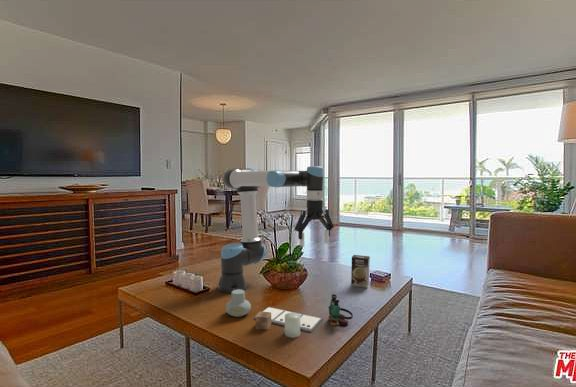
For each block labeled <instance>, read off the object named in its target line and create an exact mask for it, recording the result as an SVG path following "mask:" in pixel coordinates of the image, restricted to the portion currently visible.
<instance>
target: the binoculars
mask: <svg viewBox="0 0 576 387" xmlns="http://www.w3.org/2000/svg"><path fill="white" fill-rule="evenodd" d="M339 302H340V300H339V299H337V294H333V293H332V294H331V299H330V302H329V306H328V315H329V316H328V317H327V318H328V319H327V320H328V321H330V326H333V327H334V326H336V325H344V326H348V325H349V321H348V320H352V319H353V317H354V316H353V313H352V311H350V310H348V309H346V308H343V307H341V306H340V304H339ZM341 311H343V312H346V313H347V314H349V315H350V316H345V315H344V314H341Z"/></svg>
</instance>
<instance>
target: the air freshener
mask: <svg viewBox="0 0 576 387" xmlns="http://www.w3.org/2000/svg"><path fill="white" fill-rule="evenodd" d="M230 294H231V295H230V296H231V298H230V299H231V300H229V301H228V302H227V303H226V306H225V311H226V313H227V314H228V315H229V316H231V317H235V318H239V317H240V318H241V317H243V316H245V315H247V314H248V313H250V311H251V308H252V305H251V303H250V301H249V300H248V299H246V291H245V290H240V289H238V290H233V291H232V292H231V293H230Z"/></svg>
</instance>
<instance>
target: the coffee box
mask: <svg viewBox="0 0 576 387" xmlns="http://www.w3.org/2000/svg"><path fill="white" fill-rule="evenodd" d="M370 259H371V258H370V256H369V255H359V254H353V255H352V256H351V272H350V273H351V276H350V277H351V278H350V280H351V281H350V282H351V284H350V286H351V287H356V288H357V287H359V288H365V289H368V287H369V285H370Z"/></svg>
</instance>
